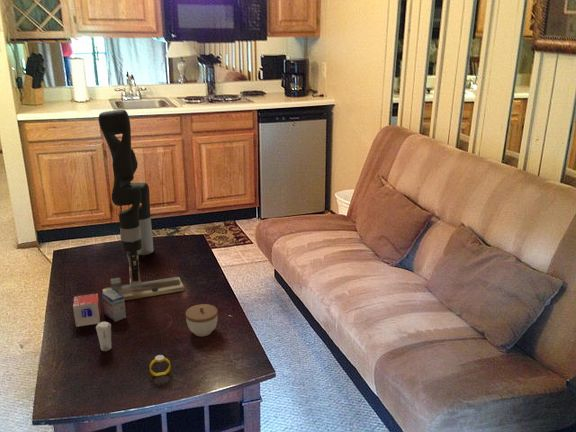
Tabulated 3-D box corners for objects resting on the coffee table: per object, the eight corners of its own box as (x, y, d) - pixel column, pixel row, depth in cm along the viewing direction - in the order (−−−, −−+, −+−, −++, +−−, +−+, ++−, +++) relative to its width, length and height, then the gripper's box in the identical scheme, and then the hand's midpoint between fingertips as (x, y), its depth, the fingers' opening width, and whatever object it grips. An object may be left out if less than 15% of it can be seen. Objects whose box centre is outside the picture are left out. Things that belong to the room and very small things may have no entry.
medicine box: (103, 314, 188) (101, 293, 185) (115, 310, 191) (112, 289, 188) (115, 322, 183) (112, 300, 180) (126, 317, 186) (124, 295, 183)
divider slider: (130, 286, 205) (128, 266, 202) (140, 285, 206) (138, 265, 203) (131, 291, 201) (129, 271, 198) (142, 289, 202) (140, 269, 200)
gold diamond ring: (170, 370, 156) (170, 353, 155) (171, 376, 154) (171, 358, 152) (149, 373, 154) (149, 355, 153) (150, 378, 152) (150, 361, 150)
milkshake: (107, 354, 164) (103, 327, 161) (95, 349, 166) (92, 322, 163) (118, 348, 167) (115, 320, 164) (107, 343, 170) (103, 316, 167)
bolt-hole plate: (103, 292, 204) (101, 277, 202) (179, 280, 215) (178, 265, 213) (104, 303, 195) (102, 288, 193) (184, 290, 206) (183, 275, 204)
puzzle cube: (100, 312, 189) (97, 293, 187) (100, 323, 182) (97, 303, 180) (76, 316, 187) (74, 296, 184) (75, 327, 180) (72, 306, 177)
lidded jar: (183, 327, 180) (182, 303, 177) (213, 321, 184) (212, 297, 181) (190, 343, 170) (189, 317, 167) (222, 336, 174) (221, 311, 171)
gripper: (119, 232, 202) (123, 272, 207) (122, 245, 189) (126, 287, 195) (139, 230, 204) (142, 270, 210) (143, 242, 192) (147, 284, 197)
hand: (135, 278), depth 202 cm, fingers closed on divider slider, 3 cm apart
